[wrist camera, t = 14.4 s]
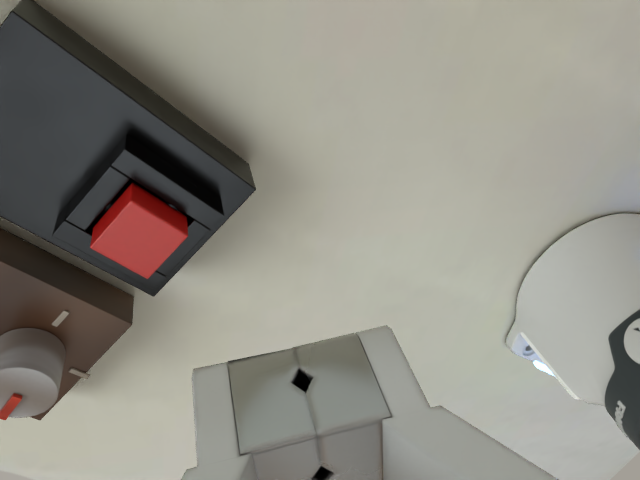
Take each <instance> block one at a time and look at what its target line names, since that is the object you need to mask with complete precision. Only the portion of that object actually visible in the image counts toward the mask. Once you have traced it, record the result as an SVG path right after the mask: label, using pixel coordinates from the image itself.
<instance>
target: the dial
mask: <svg viewBox="0 0 640 480" xmlns="http://www.w3.org/2000/svg"><path fill="white" fill-rule="evenodd" d="M65 356H66V351H65V347H64V345H63V343H62V342H61V341H60V340H59V339H58V338H57V337H56V336H55V335H53V334H51V333H49V332H47V331H44V330H40V329H35V328H20V329H15V330H11V331H8V332H6V333H4V334H3V335H1V336H0V419H3V420H6V419H7V418H8V417H15V418H22V417H30V416H34V415H38V414H40V413H43V412H45V411H46V410H48V409H49V408H50V407H52V406H53V405H54V403H55V402H56V400H57V398H58V394H59V388H60V383H61V378H62V372H63V367H64V362H65Z"/></svg>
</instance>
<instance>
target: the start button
mask: <svg viewBox="0 0 640 480" xmlns="http://www.w3.org/2000/svg"><path fill="white" fill-rule="evenodd" d="M187 237H188V226H187V217H186V216H185V215H183V214H182V213H180V212H179V211H177V210H175V209H174V208H172V207H171V206H169V205H168V204H166V203H164V202H163V201H161V200H160V199H158V198H157V197H155V196H154V195H152V194H150V193H149V192H147V191H146V190H144V189H143V188H141V187H139V186H138V185H136V184H135V183H131V184H130V186H129V187H128V188H127V189H126V190H125V191H124V192H123V194H122V195H121V196H120V197H119V198H118V199H117V201H116V202H115V203H114V204H113V205H112V206H111V207H110V209H109V210H108V211H107V212H106V213H105V214H104V216H103V217H102V218H101V219H100V220H99V221H98V222H97V224H96V225H95V226H94V227H93V233H92V238H91V244H90V248H91V249H93V250H95V251H97V252H98V253H100V254H102V255H104V256H106V257H108V258H110V259H111V260H113V261H115V262H117V263H119V264H121V265H122V266H124V267H126V268H128V269H130V270H132V271H134V272H135V273H137V274H139V275H141V276H143V277H145V278H146V279H148V278H149V277H150V276H151V275H152V274H153V273H154V272H155V271H156V270H157V269H158V268H159V267H160V266H161V265H162V263H163V262H164V261H165V260H166V259H167V258H168V257H169V256H170V255H171V254H172V253H173V252H174V251H175V250H176V249H177V247H178V246H179V245H180V244H181V243H182V242H183V241H184V240H185V239H186V238H187Z"/></svg>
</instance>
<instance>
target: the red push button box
mask: <svg viewBox="0 0 640 480" xmlns="http://www.w3.org/2000/svg"><path fill="white" fill-rule="evenodd" d="M131 183H135V184H136V185H138V186H139V187H141V188H143V189H144V190H146V191H147V192H149V193H150V194H152V195H154V196H155V197H157V198H158V199H160V200H161V201H163V202H164V203H166V204H168V205H169V206H171V207H172V208H174V209H175V210H177V211H179V212H180V213H182V214H183V215H185V216H186V217H187V226H188V237H187V238H186V239H185V240H184V241H183V242H182V243H181V244H180V245H179V246H178V247H177V249H176V250H175V251H174V252H173V253H172V254H171V255H170V256H169V257H168V258H167V259H166V260H165V261H164V262H163V263H162V265H161V266H160V267H159V268H158V269H157V270H156V271H155V272H154V273H153V274H152V275H151V276H150V277H149V278H148V279H146V278H145V277H143V276H141V275H139V274H137V273H135V272H134V271H132V270H130V269H128V268H126V267H124V266H122V265H121V264H119V263H117V262H115V261H113V260H111V259H110V258H108V257H106V256H104V255H102V254H100V253H98V252H97V251H95V250H93V249H91V248H90V244H91V238H92V233H93V227H94V226H95V225H96V224H97V222H98V221H99V220H100V219H101V218H102V217H103V216H104V214H105V213H106V212H107V211H108V210H109V209H110V207H111V206H112V205H113V204H114V203H115V202H116V201H117V199H118V198H119V197H120V196H121V195H122V194H123V192H124V191H125V190H126V189H127V188H128V187H129V186H130V184H131ZM255 190H256V187H255V184H254V180H253V177H252V173H251V170H250V167H249V164H248V163H247V162H246V161H244V160H243V159H242V158H240V157H239V156H238V155H236V154H235V153H234V152H232V151H231V150H230V149H229V148H227V147H226V146H225V145H223V144H222V143H221V142H219V141H218V140H217V139H215V138H214V137H213V136H211V135H210V134H209V133H207V132H206V131H205V130H203V129H202V128H201V127H199V126H198V125H197V124H196V123H194V122H193V121H192V120H190V119H189V118H188V117H186V116H185V115H184V114H182V113H181V112H180V111H178V110H177V109H176V108H174V107H173V106H172V105H170V104H169V103H168V102H167V101H165V100H164V99H163V98H161V97H160V96H159V95H157V94H156V93H155V92H153V91H152V90H151V89H149V88H148V87H147V86H145V85H144V84H143V83H141V82H140V81H139V80H137V79H136V78H135V77H134V76H132V75H131V74H130V73H128V72H127V71H126V70H124V69H123V68H122V67H120V66H119V65H118V64H116V63H115V62H114V61H112V60H111V59H110V58H108V57H107V56H106V55H104V54H103V53H102V52H101V51H99V50H98V49H97V48H95V47H94V46H93V45H91V44H90V43H89V42H87V41H86V40H85V39H83V38H82V37H81V36H79V35H78V34H77V33H75V32H74V31H73V30H71V29H70V28H69V27H68V26H66V25H65V24H64V23H62V22H61V21H60V20H58V19H57V18H56V17H54V16H53V15H52V14H50V13H49V12H48V11H46V10H45V9H44V8H42V7H41V6H40V5H39V4H37V3H36V2H35V1H33V0H21V1H20V2H19V3H18V5H17V6H16V7H15V8H14V9H13V10H12V11H11V12H10V14H9V15H8V17H7V18H6V19H5V21H4V22H3V24H2V25H1V26H0V216H1V217H3V218H5V219H7V220H9V221H11V222H12V223H14V224H16V225H18V226H20V227H22V228H24V229H26V230H28V231H30V232H31V233H33V234H35V235H37V236H39V237H41V238H43V239H45V240H47V241H49V242H51V243H52V244H54V245H56V246H58V247H60V248H62V249H64V250H66V251H68V252H70V253H71V254H73V255H75V256H77V257H79V258H81V259H83V260H85V261H87V262H89V263H90V264H92V265H94V266H96V267H98V268H100V269H102V270H104V271H106V272H108V273H110V274H111V275H113V276H115V277H117V278H119V279H121V280H123V281H125V282H127V283H129V284H130V285H132V286H134V287H136V288H138V289H140V290H142V291H144V292H146V293H148V294H150V295H151V296H155V295H156V294H157V293H158V292H159V291H160V290H161V289H162V287H163V286H164V285H165V284H166V283H167V282H168V281H169V280H170V279H171V278H172V277H173V276H174V275H175V274H176V273H177V272H178V271H179V270H180V269H181V268H182V267H183V265H184V264H185V263H186V262H187V261H188V260H189V259H190V258H191V257H192V256H193V255H194V254H195V253H196V252H197V251H198V250H199V249H200V248H201V247H202V246H203V245H204V244H205V242H206V241H207V240H208V239H209V238H210V237H211V236H212V235H213V234H214V233H215V232H216V231H217V230H218V229H219V228H220V227H221V226H222V225H223V224H224V223H225V222H226V220H227V219H228V218H229V217H230V216H231V215H232V214H233V213H234V212H235V211H236V210H237V209H238V208H239V207H240V206H241V205H242V204H243V203H244V202H245V201H246V200H247V198H248V197H249V196H250V195H251V194H252V193H253V192H254V191H255Z"/></svg>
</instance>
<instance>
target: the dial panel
mask: <svg viewBox="0 0 640 480" xmlns="http://www.w3.org/2000/svg"><path fill="white" fill-rule="evenodd" d="M133 301H134V297H133V296H132V295H130V294H128V293H126V292H124V291H122V290H120V289H118V288H116V287H114V286H112V285H110V284H108V283H106V282H104V281H102V280H100V279H98V278H97V277H95V276H93V275H91V274H89V273H87V272H85V271H83V270H81V269H79V268H77V267H75V266H73V265H71V264H69V263H67V262H65V261H63V260H61V259H60V258H58V257H56V256H54V255H52V254H50V253H48V252H46V251H44V250H42V249H40V248H38V247H36V246H34V245H32V244H30V243H28V242H26V241H24V240H23V239H21V238H19V237H17V236H15V235H13V234H11V233H9V232H7V231H5V230H3V229H1V228H0V336H1V335H3V334H4V333H6V332H8V331H11V330H15V329H20V328H35V329H40V330H44V331H47V332H49V333H51V334H53V335H55V336H56V337H57V338H58V339H59V340H60V341H61V342H62V343H63V345H64V347H65V351H66V356H65V362H64V367H63V372H62V378H61V383H60V388H59V394H58V398H57V400H56V402H55V403H54V405H55V404H56V403H57V402H58V401H59V400H60V399H61V398H62V397H63V396H64V395H65V394H66V393H67V392H68V391H69V390H70V389H71V388H72V387H73V386H74V385H75V384H76V383H77V382H78V380H79V379H80V378H81V377H83V378H85V379H88V377H89V376H90V374H87V373H86V372H87V371H88V370H89V369H90V368H91V367H92V366H93V365H94V364H95V363H96V362H97V361H98V360H99V359H100V358H101V356H102V355H103V354H104V353H105V352H106V351H107V350H108V349H109V348H110V347H111V346H112V345H113V344H114V343H115V342H116V341H117V340H118V339H119V338H120V337H121V336H122V335H123V334H124V333H125V331H126V330H127V329H128V328H129V327H130V326H131V325H132V319H133ZM54 405H53V406H52V407H50V408H49V409H48V410H46V411H45V412H43V413H40V414H38V415H34V416H30V417H32V418H35V419H37V420H41V419H42V418H43V417H44V416H45V415H46V414H47V413H48V412H49V411H50V410H51V409H52V408H53V407H54Z"/></svg>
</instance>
